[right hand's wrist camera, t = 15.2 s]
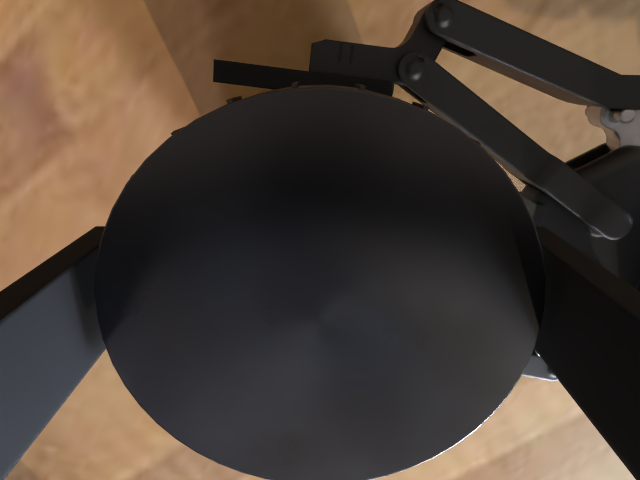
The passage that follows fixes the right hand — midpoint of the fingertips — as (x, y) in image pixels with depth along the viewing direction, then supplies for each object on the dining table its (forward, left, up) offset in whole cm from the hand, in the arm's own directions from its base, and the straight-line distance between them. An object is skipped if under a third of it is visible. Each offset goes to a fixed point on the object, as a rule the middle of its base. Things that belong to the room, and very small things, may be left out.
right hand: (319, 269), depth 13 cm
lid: (0, 0, +3) cm, 3 cm away
